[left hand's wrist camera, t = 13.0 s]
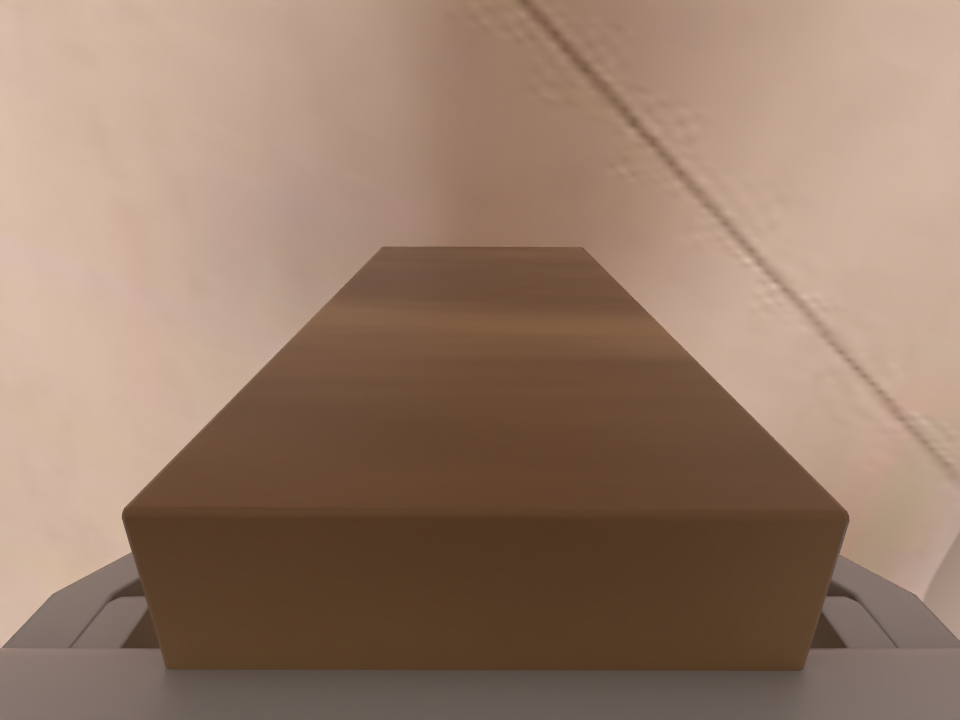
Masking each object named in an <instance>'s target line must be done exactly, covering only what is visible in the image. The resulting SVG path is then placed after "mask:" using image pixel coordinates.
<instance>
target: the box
mask: <svg viewBox="0 0 960 720" xmlns="http://www.w3.org/2000/svg"><path fill="white" fill-rule="evenodd" d="M122 520H123V523H124V527H125V530H126V533H127V537H128V540H129V544H130V547H131V551H132V554H133V557H134V561H135V564H136V568H137V571H138V574H139V578H140V581H141V585H142V588H143V592H144V595H145V598H146V602H147V605H148V609H149V612H150V616H151V619H152V622H153V626H154V629H155V633H156V636H157V639H158V643H159V646H160V650H161V653H162V657H163V660H164V663H165V667H166V668H168V669H203V670H606V671H800V670H803V669H804V666H805V663H806V659H807V656H808V653H809V650H810V646H811V643H812V640H813V637H814V633H815V630H816V627H817V624H818V621H819V617H820V614H821V611H822V608H823V604H824V601H825V598H826V595H827V591H828V588H829V585H830V582H831V579H832V575H833V572H834V569H835V566H836V562H837V559H838V556H839V553H840V549H841V546H842V543H843V540H844V537H845V533H846V530H847V527H848V524H849V515H848V513H847V511H846V510H845V509H844V508H843V507H842V506H841V505H840V504H839V503H838V502H837V501H836V500H835V499H834V498H833V497H832V496H831V495H830V494H829V493H828V492H827V491H826V490H825V489H824V488H823V487H822V486H821V485H820V484H819V483H818V482H817V481H816V480H815V479H814V478H813V477H812V476H811V475H810V474H809V473H808V472H807V471H806V470H805V469H804V468H803V467H802V466H801V465H800V464H799V463H798V462H797V461H796V460H795V459H794V458H793V457H792V456H791V455H790V454H789V453H788V452H787V451H786V450H785V449H784V448H783V447H782V446H781V445H780V444H779V443H778V442H777V441H776V440H775V439H774V438H773V437H772V436H771V435H770V434H769V433H768V432H767V431H766V430H765V429H764V428H763V427H762V426H761V425H760V424H759V423H758V422H757V421H756V420H755V419H754V418H753V417H752V416H751V415H750V414H749V413H748V412H747V411H746V410H745V409H744V408H743V407H742V406H741V405H740V404H739V403H738V402H737V401H736V400H735V399H734V398H733V397H732V396H731V395H730V394H729V393H728V392H727V391H726V390H725V389H724V388H723V387H722V386H721V385H720V384H719V383H718V382H717V381H716V380H715V379H714V378H713V377H712V376H711V375H710V374H709V373H708V372H707V371H706V370H705V369H704V368H703V367H702V366H701V365H700V364H699V363H698V362H697V361H696V360H695V359H694V358H693V357H692V356H691V355H690V354H689V353H688V352H687V351H686V350H685V349H684V348H683V347H682V346H681V345H680V344H679V343H678V342H677V341H676V340H675V339H674V338H673V337H672V336H671V335H670V334H669V333H668V332H667V331H666V330H665V329H664V328H663V327H662V326H661V325H660V324H659V323H658V322H657V321H656V320H655V319H654V318H653V317H652V316H651V315H650V314H649V313H648V312H647V311H646V310H645V309H644V308H643V307H642V306H641V305H640V304H639V303H638V302H637V301H636V300H635V299H634V298H633V297H632V296H631V295H630V294H629V293H628V292H627V291H626V290H625V289H624V288H623V287H622V286H621V285H620V284H619V283H618V282H617V281H616V280H615V279H614V278H613V277H612V276H611V275H610V274H609V273H608V272H607V271H606V270H605V269H604V268H603V267H602V266H601V265H600V264H599V263H598V262H597V261H596V260H595V259H594V258H593V257H592V256H591V255H590V254H589V253H588V252H587V251H586V250H585V249H584V248H582V247H382V248H381V249H380V250H379V251H378V252H377V253H376V254H375V255H374V256H373V257H372V258H371V259H370V260H369V261H368V262H367V263H366V264H365V265H364V266H363V267H362V268H361V269H360V270H359V271H358V272H357V273H356V274H355V275H354V276H353V277H352V278H351V279H350V280H349V281H348V282H347V283H346V284H345V285H344V287H343V288H342V289H341V290H340V291H339V292H338V293H337V294H336V295H335V296H334V297H333V298H332V299H331V300H330V301H329V302H328V303H327V304H326V305H325V306H324V307H323V308H322V309H321V310H320V311H319V312H318V313H317V314H316V315H315V316H314V317H313V318H312V319H311V320H310V321H309V322H308V323H307V324H306V325H305V326H304V327H303V328H302V329H301V330H300V331H299V332H298V333H297V334H296V335H295V336H294V337H293V338H292V339H291V340H290V341H289V342H288V343H287V344H286V345H285V346H284V347H283V348H282V349H281V350H280V351H279V352H278V353H277V354H276V355H275V356H274V357H273V358H272V359H271V360H270V361H269V362H268V363H267V364H266V365H265V366H264V367H263V368H262V369H261V370H260V371H259V372H258V373H257V374H256V375H255V376H254V377H253V379H252V380H251V381H250V382H249V383H248V384H247V385H246V386H245V387H244V388H243V389H242V390H241V391H240V392H239V393H238V394H237V395H236V396H235V397H234V398H233V399H232V400H231V401H230V402H229V403H228V404H227V405H226V406H225V407H224V408H223V409H222V410H221V411H220V412H219V413H218V414H217V415H216V416H215V417H214V418H213V419H212V420H211V421H210V422H209V423H208V424H207V425H206V426H205V427H204V428H203V429H202V430H201V431H200V432H199V433H198V434H197V435H196V436H195V437H194V438H193V439H192V440H191V441H190V442H189V443H188V444H187V445H186V446H185V447H184V448H183V449H182V450H181V451H180V452H179V453H178V454H177V455H176V456H175V457H174V458H173V459H172V460H171V461H170V462H169V463H168V464H167V465H166V466H165V467H164V468H163V469H162V471H161V472H160V473H159V474H158V475H157V476H156V477H155V478H154V479H153V480H152V481H151V482H150V483H149V484H148V485H147V486H146V487H145V488H144V489H143V490H142V491H141V492H140V493H139V494H138V495H137V496H136V497H135V498H134V499H133V500H132V501H131V502H130V503H129V504H128V505H127V506H126V507H125V508H124V510H123V513H122Z"/></svg>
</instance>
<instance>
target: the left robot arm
mask: <svg viewBox="0 0 960 720" xmlns="http://www.w3.org/2000/svg"><path fill="white" fill-rule="evenodd" d="M0 720H960V641H959V640H958V639H957V637H956V636H955V635H954V634H953V633H952V632H951V631H950V630H949V629H948V628H947V627H946V626H945V625H944V624H943V623H942V622H941V621H940V620H939V619H938V618H937V617H936V616H935V615H934V614H933V613H932V611H931V610H930V609H929V608H928V607H927V606H926V605H925V604H924V603H923V602H922V601H921V600H920V599H919V598H918V597H917V596H916V595H915V594H913V593H911V592H909V591H907V590H905V589H903V588H901V587H899V586H898V585H896V584H894V583H892V582H890V581H888V580H886V579H884V578H882V577H880V576H879V575H877V574H875V573H873V572H871V571H869V570H867V569H865V568H863V567H861V566H860V565H858V564H856V563H854V562H852V561H850V560H848V559H846V558H844V557H842V556H841V555H839V556H838V559H837V562H836V566H835V569H834V572H833V575H832V579H831V582H830V585H829V588H828V591H827V595H826V598H825V601H824V604H823V608H822V611H821V614H820V617H819V621H818V624H817V627H816V630H815V633H814V637H813V640H812V643H811V646H810V650H809V653H808V656H807V659H806V663H805V666H804V669H803V670H800V671H606V670H203V669H168V668H166V667H165V663H164V660H163V657H162V653H161V650H160V646H159V643H158V639H157V636H156V633H155V629H154V626H153V622H152V619H151V616H150V612H149V609H148V605H147V602H146V598H145V595H144V592H143V588H142V585H141V581H140V578H139V574H138V571H137V568H136V564H135V561H134V557H133V554H132V552H131V553H129V554H128V555H126V556H124V557H122V558H120V559H118V560H116V561H114V562H112V563H111V564H109V565H107V566H105V567H103V568H101V569H99V570H97V571H95V572H94V573H92V574H90V575H88V576H86V577H84V578H82V579H80V580H78V581H77V582H75V583H73V584H71V585H69V586H67V587H65V588H63V589H61V590H60V591H58V592H56V593H54V594H52V595H51V596H50V597H49V599H48V600H47V601H46V602H45V603H44V604H43V605H42V606H41V607H40V608H39V609H38V610H37V611H36V612H35V613H34V614H33V615H32V616H31V617H30V618H29V620H28V621H27V622H26V623H25V624H24V625H23V626H22V627H21V628H20V629H19V630H18V631H17V632H16V633H15V634H14V635H13V636H12V637H11V638H10V640H9V641H8V642H7V643H6V644H5V645H4V646H3V647H2V648H0Z"/></svg>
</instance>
